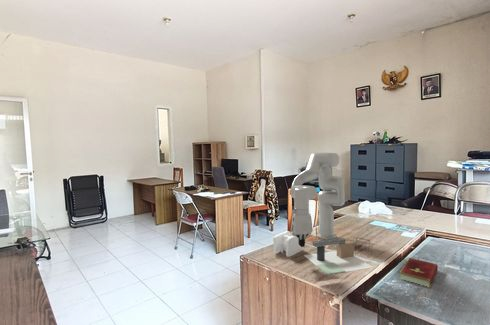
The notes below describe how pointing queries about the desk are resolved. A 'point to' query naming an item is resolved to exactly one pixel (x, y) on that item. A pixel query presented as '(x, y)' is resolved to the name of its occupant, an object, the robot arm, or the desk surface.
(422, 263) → the hardcover book
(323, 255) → the cable plug
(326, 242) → the bar
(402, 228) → the desk surface
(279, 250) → the cable organizer
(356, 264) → the cable panel
